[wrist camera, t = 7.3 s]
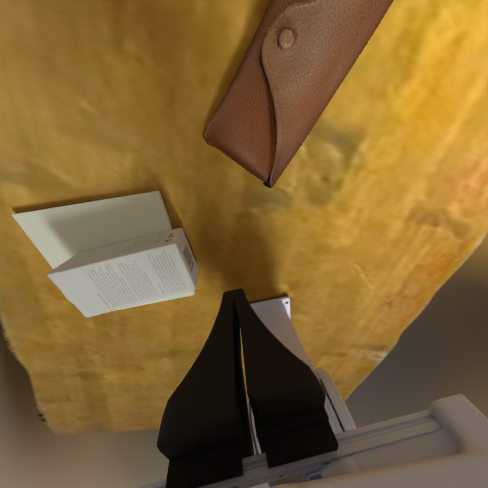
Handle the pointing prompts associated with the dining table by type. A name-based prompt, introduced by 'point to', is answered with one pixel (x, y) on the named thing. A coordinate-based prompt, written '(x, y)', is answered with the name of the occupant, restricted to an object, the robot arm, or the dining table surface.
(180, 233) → the skincare box
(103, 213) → the mat
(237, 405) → the robot arm
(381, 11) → the sunglasses case
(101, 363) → the dining table surface
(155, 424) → the dining table surface
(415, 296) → the dining table surface
